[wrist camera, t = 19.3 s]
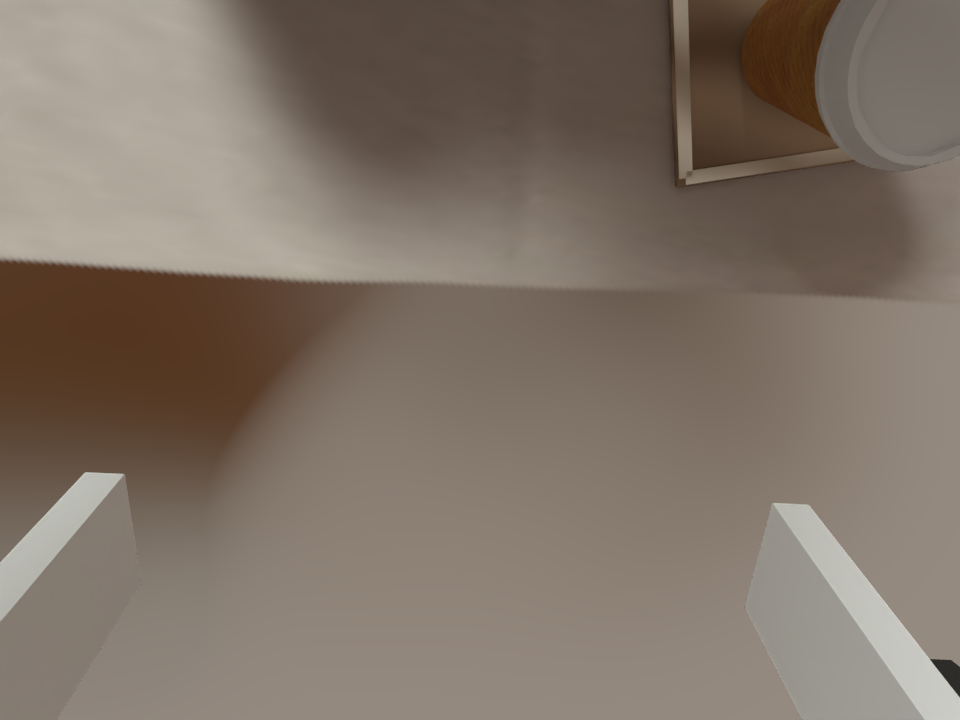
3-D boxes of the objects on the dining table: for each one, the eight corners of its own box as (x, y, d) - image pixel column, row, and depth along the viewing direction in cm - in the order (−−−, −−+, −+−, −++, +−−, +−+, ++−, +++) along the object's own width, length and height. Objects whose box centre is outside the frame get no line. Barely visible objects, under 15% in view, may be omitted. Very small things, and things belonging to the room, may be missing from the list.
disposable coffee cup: (827, -95, 36) (1012, -140, 26) (903, 53, 40) (1091, 68, 29) (680, 40, 38) (794, 50, 28) (766, 169, 42) (896, 221, 31)
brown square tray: (666, -59, 38) (669, -61, 37) (913, -100, 37) (919, -102, 37) (675, 186, 43) (678, 187, 42) (892, 153, 42) (898, 154, 42)
